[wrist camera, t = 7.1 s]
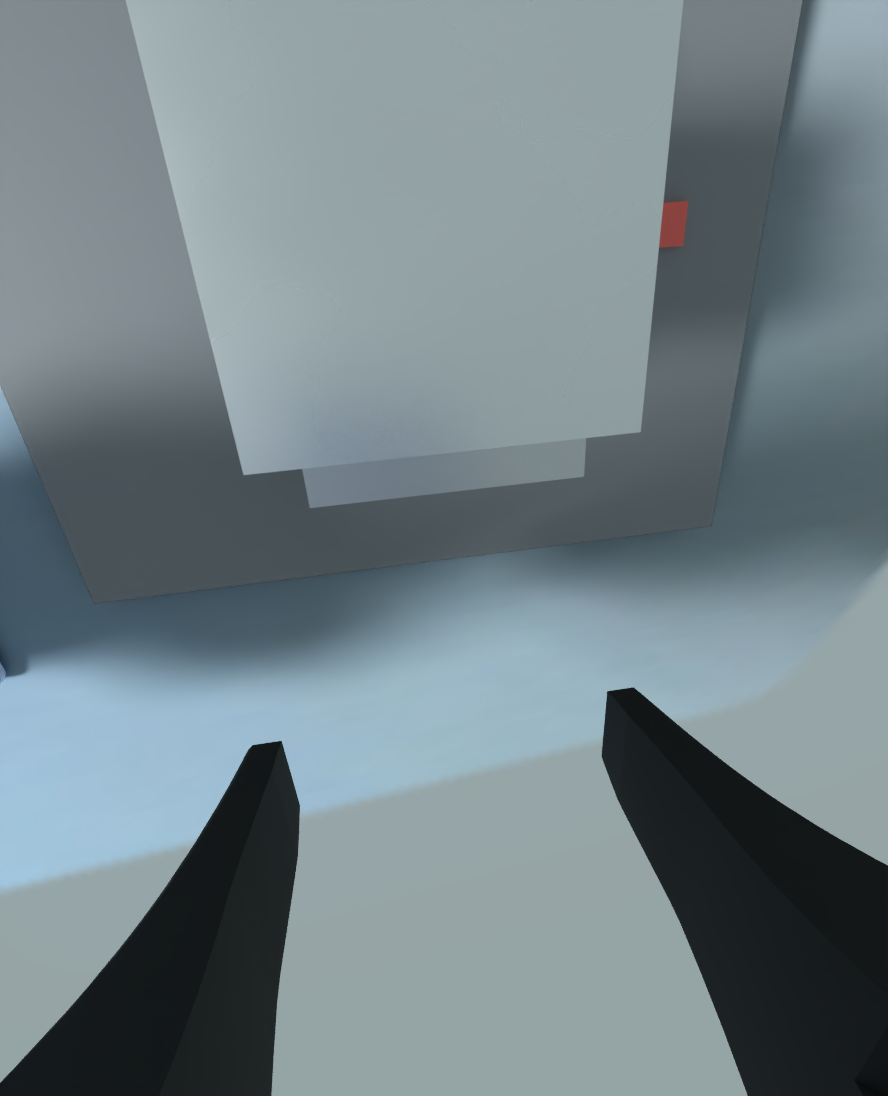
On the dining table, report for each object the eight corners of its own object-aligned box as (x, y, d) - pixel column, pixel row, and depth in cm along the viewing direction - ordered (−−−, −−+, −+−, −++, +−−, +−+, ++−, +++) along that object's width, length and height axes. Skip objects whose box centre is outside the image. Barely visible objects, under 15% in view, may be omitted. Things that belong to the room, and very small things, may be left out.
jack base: (107, 586, 18) (39, 673, 14) (-258, -303, 10) (-660, -673, 6) (695, 514, 20) (775, 574, 16) (822, -290, 11) (1053, -564, 8)
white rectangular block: (302, 390, 12) (246, 518, 6) (250, 106, 10) (79, -142, 4) (505, 370, 13) (643, 472, 7) (500, 93, 10) (707, -147, 4)
